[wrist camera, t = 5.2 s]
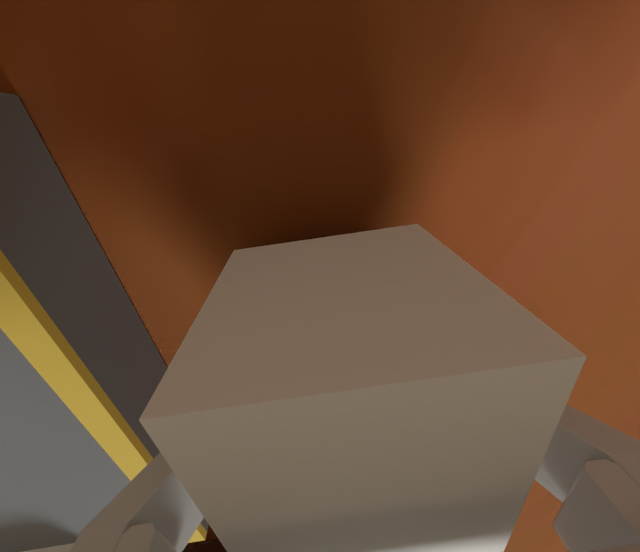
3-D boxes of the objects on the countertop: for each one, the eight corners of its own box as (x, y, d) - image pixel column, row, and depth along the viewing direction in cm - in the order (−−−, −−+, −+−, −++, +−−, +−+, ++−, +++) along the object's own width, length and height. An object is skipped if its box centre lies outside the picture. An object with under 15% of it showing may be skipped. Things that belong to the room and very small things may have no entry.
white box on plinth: (399, 209, 9) (586, 355, 3) (398, 385, 13) (482, 600, 7) (243, 232, 9) (138, 420, 3) (288, 400, 13) (279, 629, 7)
